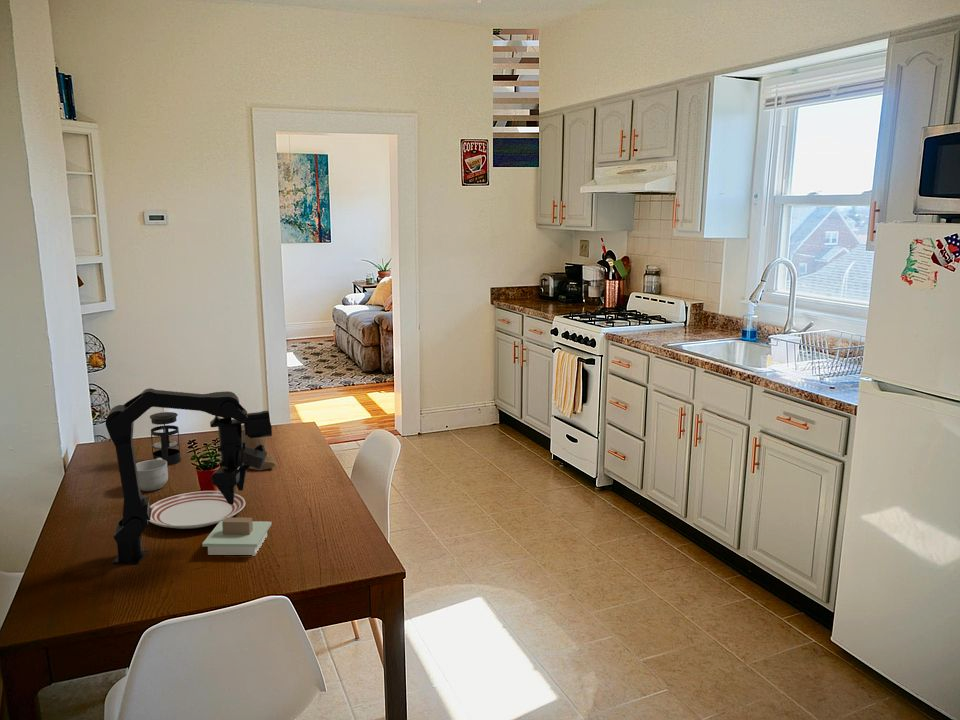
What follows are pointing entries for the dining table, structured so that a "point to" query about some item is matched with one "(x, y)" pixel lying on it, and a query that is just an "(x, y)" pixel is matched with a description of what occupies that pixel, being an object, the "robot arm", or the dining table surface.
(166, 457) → the french press
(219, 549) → the dish
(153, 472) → the teacup
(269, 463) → the beige boot
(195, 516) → the dinner plate
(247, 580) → the dining table surface
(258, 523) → the cover
